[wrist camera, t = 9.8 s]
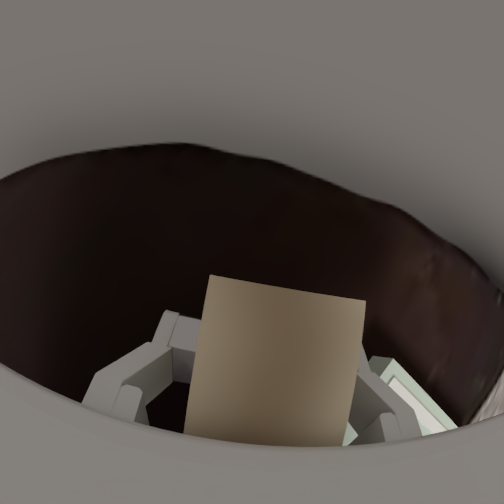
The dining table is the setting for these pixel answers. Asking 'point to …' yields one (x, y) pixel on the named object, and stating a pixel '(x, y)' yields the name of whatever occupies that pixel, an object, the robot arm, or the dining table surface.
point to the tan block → (274, 365)
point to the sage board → (407, 398)
